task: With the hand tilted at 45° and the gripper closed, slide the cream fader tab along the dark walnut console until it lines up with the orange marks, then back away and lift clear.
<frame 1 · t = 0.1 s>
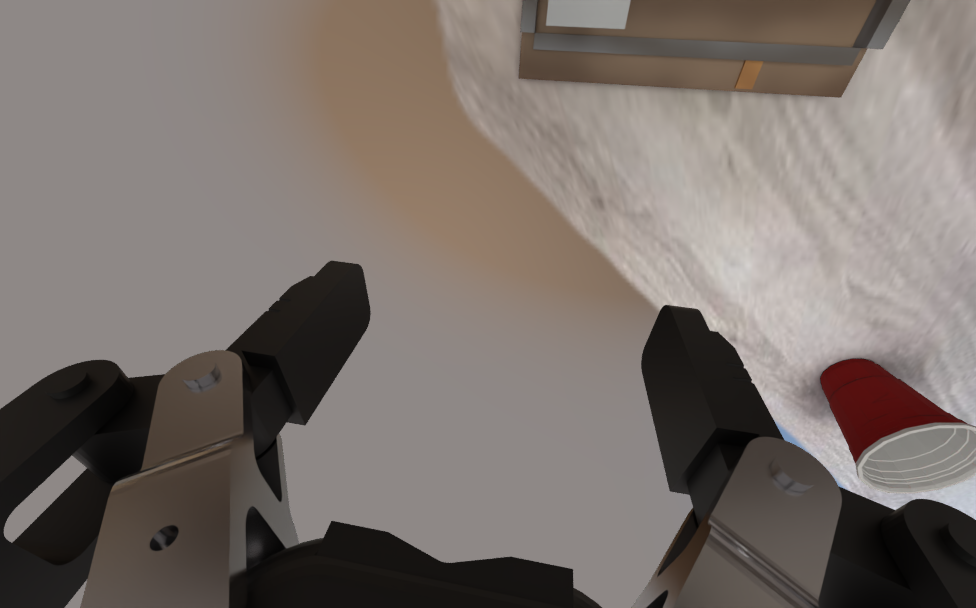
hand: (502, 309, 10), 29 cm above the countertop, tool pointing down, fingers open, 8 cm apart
plastic cup: (848, 372, 45), on the countertop
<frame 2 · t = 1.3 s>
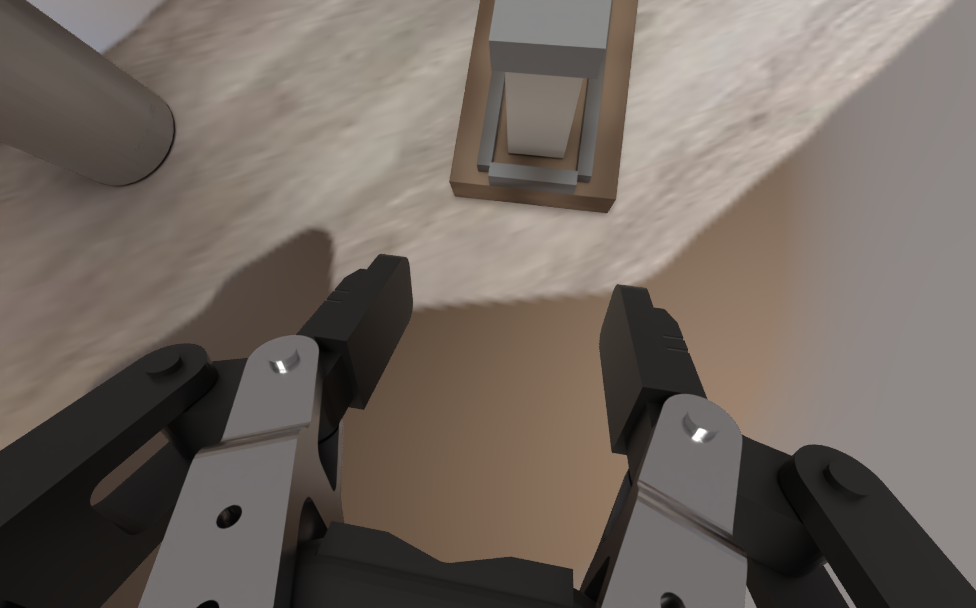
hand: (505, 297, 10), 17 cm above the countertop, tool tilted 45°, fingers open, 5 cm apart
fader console: (549, 66, 30), on the countertop
fader tab: (543, 85, 22), point 8 cm above the countertop, slide at 0.0 cm
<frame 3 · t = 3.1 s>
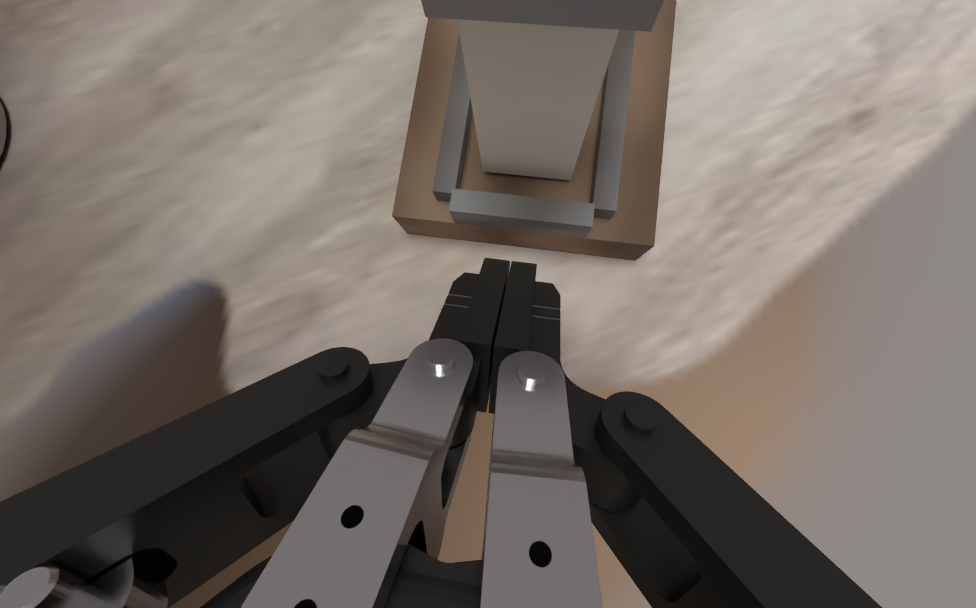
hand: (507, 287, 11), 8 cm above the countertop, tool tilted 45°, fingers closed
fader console: (546, 41, 21), on the countertop
fader tab: (537, 58, 12), point 8 cm above the countertop, slide at 0.0 cm
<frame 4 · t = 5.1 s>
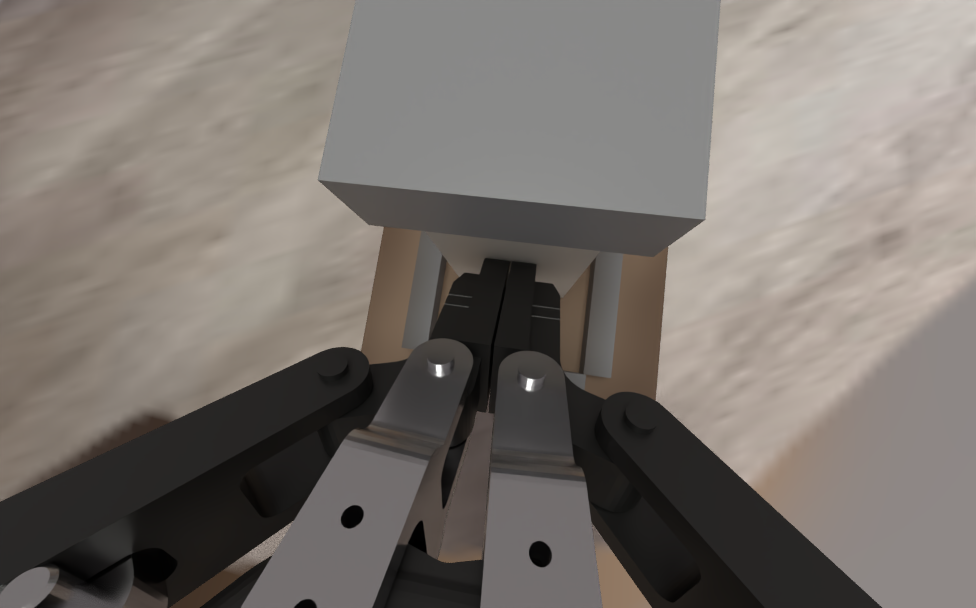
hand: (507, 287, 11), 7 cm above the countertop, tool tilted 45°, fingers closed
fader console: (535, 145, 19), on the countertop
fader tab: (518, 207, 10), point 8 cm above the countertop, slide at 1.4 cm, touching gripper
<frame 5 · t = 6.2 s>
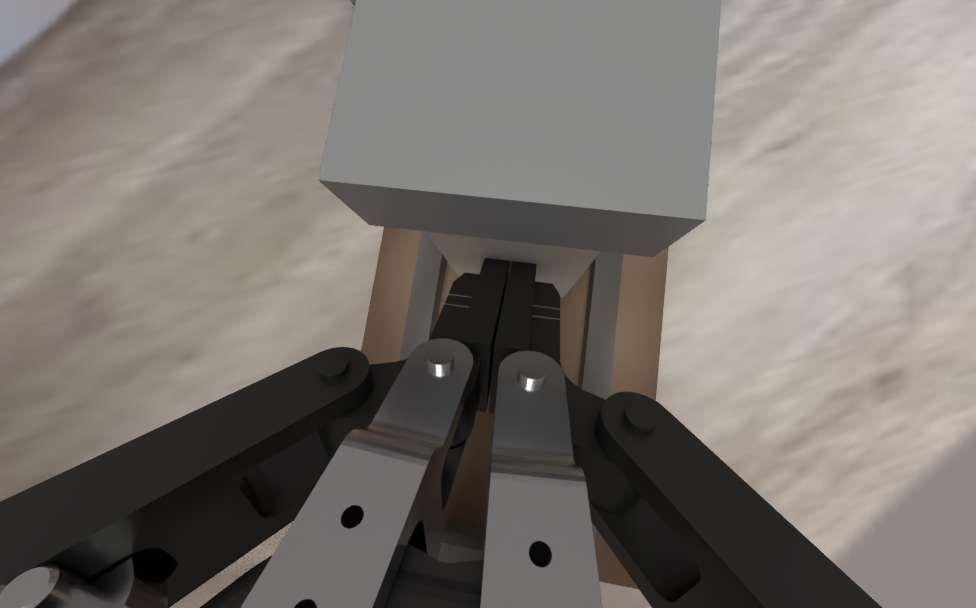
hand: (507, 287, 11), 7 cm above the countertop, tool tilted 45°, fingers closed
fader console: (518, 266, 18), on the countertop
fader tab: (519, 207, 10), point 8 cm above the countertop, slide at 7.8 cm, touching gripper
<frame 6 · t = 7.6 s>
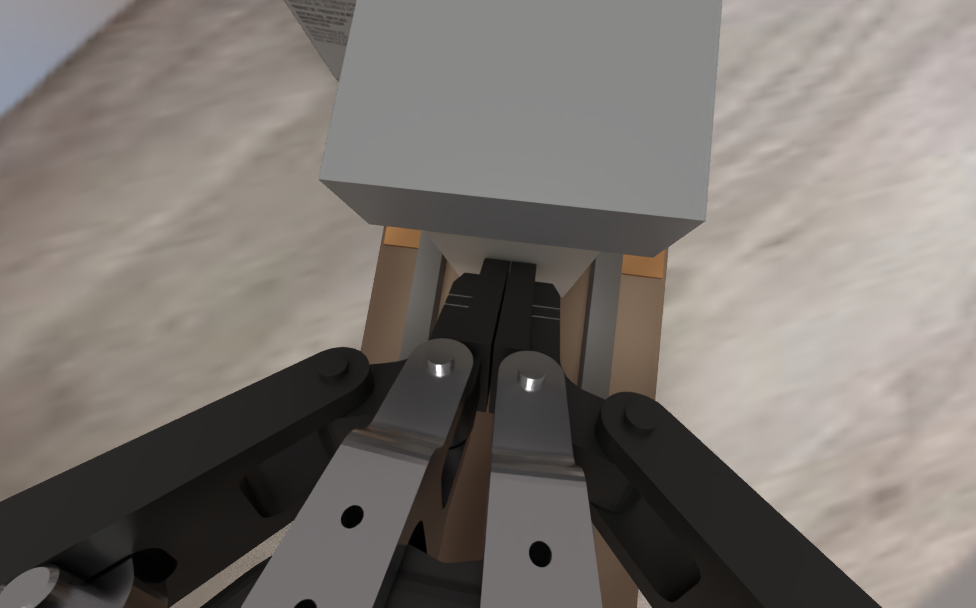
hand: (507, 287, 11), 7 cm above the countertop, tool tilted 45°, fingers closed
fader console: (505, 364, 17), on the countertop
coffee box: (408, 20, 21), on the countertop
fader tab: (519, 206, 10), point 8 cm above the countertop, slide at 12.6 cm, touching gripper
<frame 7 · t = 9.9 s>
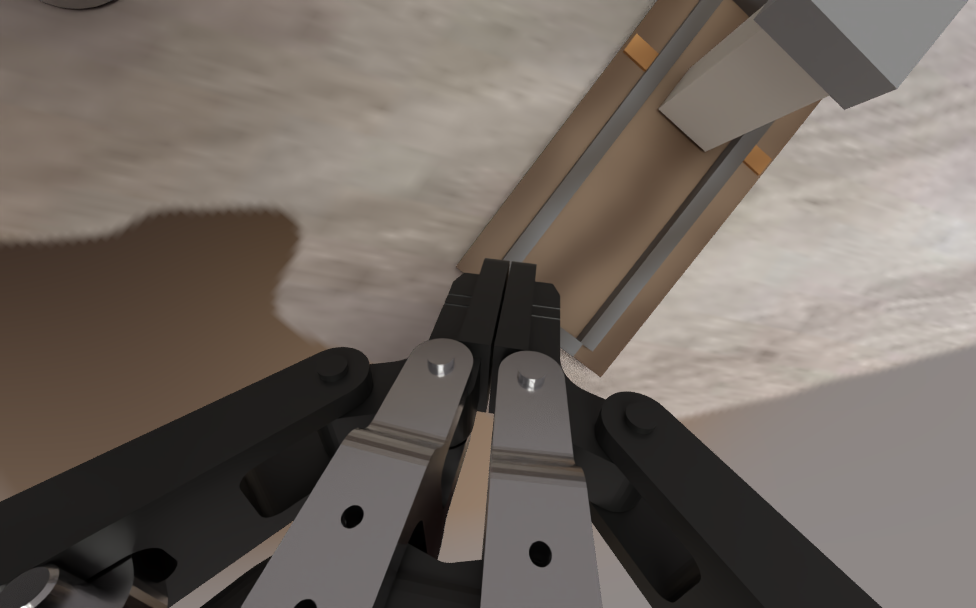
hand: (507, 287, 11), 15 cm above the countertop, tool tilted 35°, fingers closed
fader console: (629, 181, 26), on the countertop
fader tab: (764, 67, 18), point 8 cm above the countertop, slide at 12.6 cm
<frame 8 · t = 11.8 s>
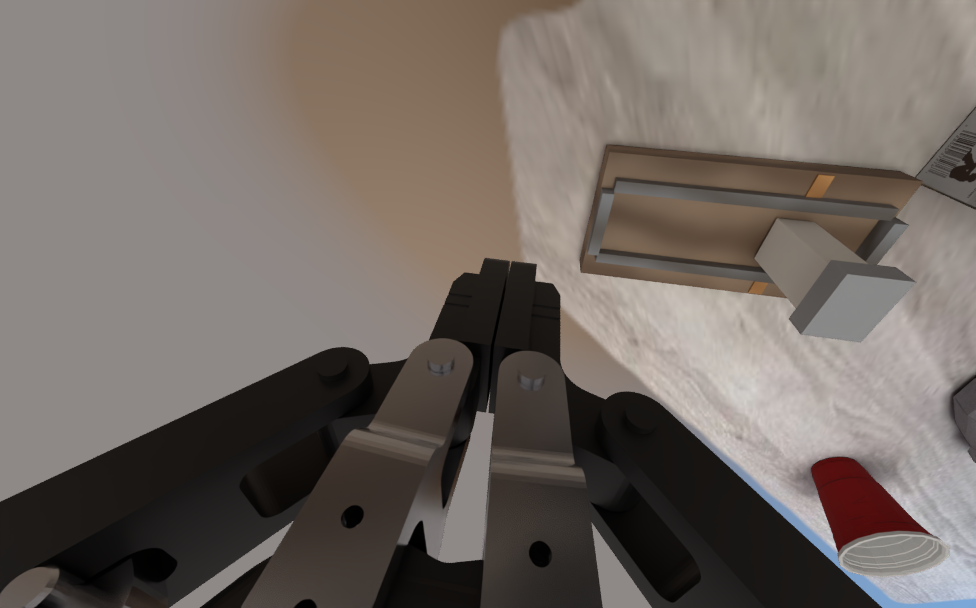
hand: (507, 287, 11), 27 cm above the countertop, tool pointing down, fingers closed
plastic cup: (835, 465, 54), on the countertop
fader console: (718, 221, 35), on the countertop
fader tab: (813, 270, 29), point 8 cm above the countertop, slide at 12.6 cm
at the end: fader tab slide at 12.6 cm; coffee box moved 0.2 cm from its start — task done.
